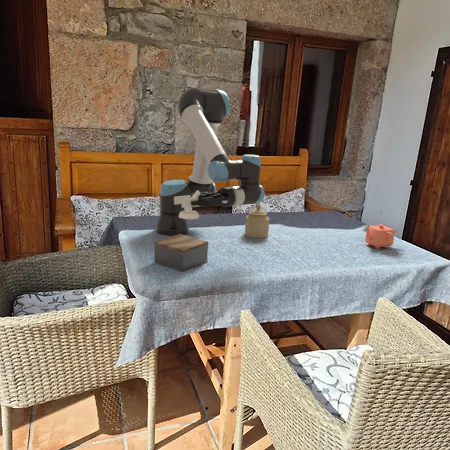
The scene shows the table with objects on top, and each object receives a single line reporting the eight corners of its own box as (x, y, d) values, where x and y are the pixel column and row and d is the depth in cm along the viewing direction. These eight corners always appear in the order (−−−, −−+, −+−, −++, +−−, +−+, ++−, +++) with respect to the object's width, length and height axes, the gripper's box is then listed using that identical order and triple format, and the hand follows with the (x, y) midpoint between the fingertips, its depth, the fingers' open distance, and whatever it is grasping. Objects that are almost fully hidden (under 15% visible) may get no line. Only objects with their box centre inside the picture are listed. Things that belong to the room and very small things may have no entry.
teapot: (368, 240, 199) (371, 219, 196) (394, 245, 193) (398, 223, 190) (361, 247, 187) (364, 225, 184) (389, 253, 181) (392, 230, 178)
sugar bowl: (235, 230, 202) (237, 200, 198) (254, 228, 208) (256, 198, 204) (253, 239, 190) (255, 207, 186) (272, 236, 196) (275, 205, 192)
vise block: (154, 262, 156) (154, 241, 154) (179, 253, 167) (179, 233, 165) (182, 271, 148) (183, 250, 146) (207, 261, 160) (208, 241, 157)
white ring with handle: (213, 206, 148) (197, 195, 146) (192, 230, 152) (176, 220, 149) (211, 197, 155) (196, 187, 152) (191, 220, 159) (176, 210, 156)
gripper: (244, 211, 157) (191, 218, 143) (216, 201, 170) (165, 207, 156) (245, 191, 154) (192, 196, 140) (217, 183, 168) (166, 187, 154)
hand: (178, 202), depth 148 cm, fingers closed on white ring with handle, 4 cm apart
